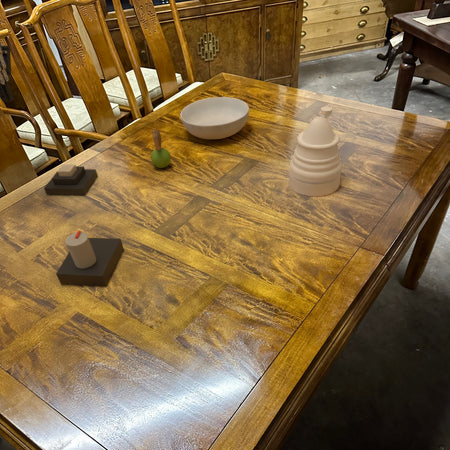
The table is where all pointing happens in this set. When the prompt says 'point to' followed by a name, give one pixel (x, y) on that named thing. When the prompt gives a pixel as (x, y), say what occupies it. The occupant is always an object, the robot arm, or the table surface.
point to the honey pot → (316, 159)
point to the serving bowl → (215, 117)
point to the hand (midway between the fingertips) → (8, 100)
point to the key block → (72, 183)
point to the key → (67, 170)
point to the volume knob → (81, 250)
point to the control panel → (97, 273)
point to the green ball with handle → (159, 152)
